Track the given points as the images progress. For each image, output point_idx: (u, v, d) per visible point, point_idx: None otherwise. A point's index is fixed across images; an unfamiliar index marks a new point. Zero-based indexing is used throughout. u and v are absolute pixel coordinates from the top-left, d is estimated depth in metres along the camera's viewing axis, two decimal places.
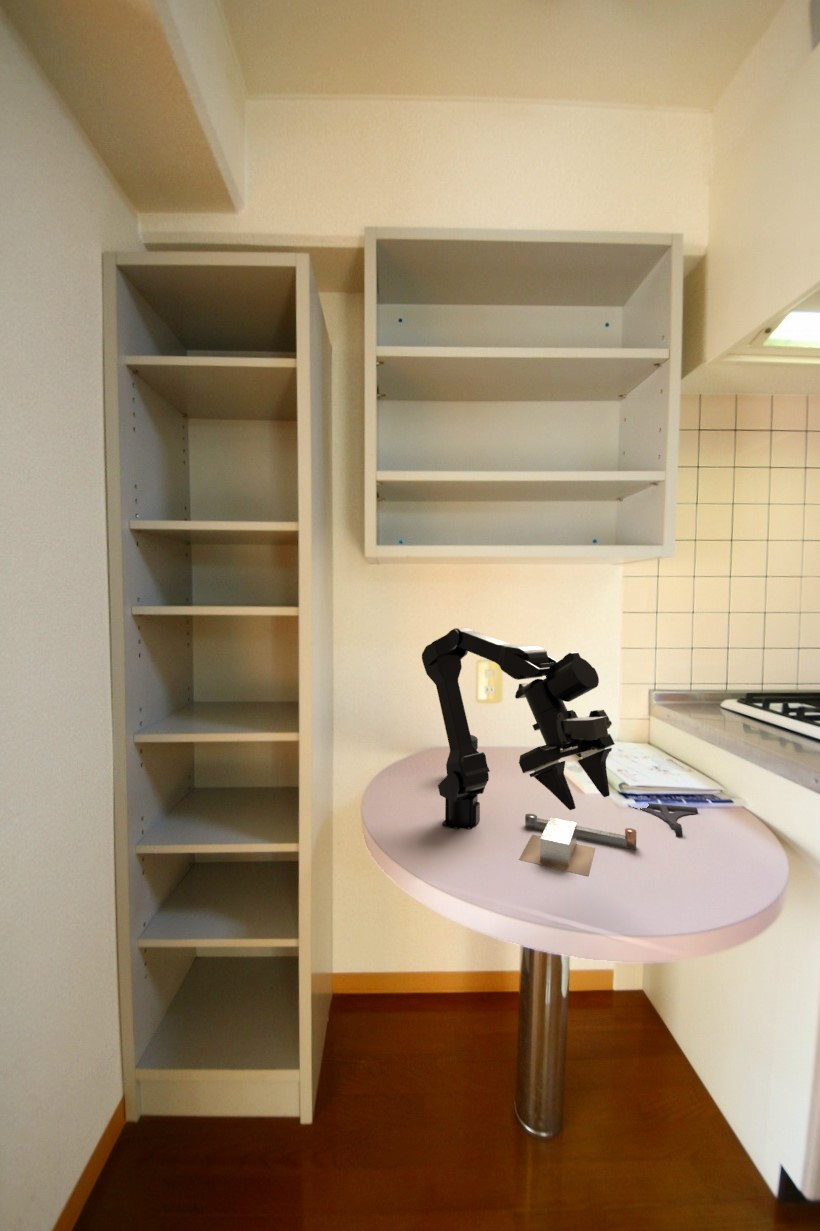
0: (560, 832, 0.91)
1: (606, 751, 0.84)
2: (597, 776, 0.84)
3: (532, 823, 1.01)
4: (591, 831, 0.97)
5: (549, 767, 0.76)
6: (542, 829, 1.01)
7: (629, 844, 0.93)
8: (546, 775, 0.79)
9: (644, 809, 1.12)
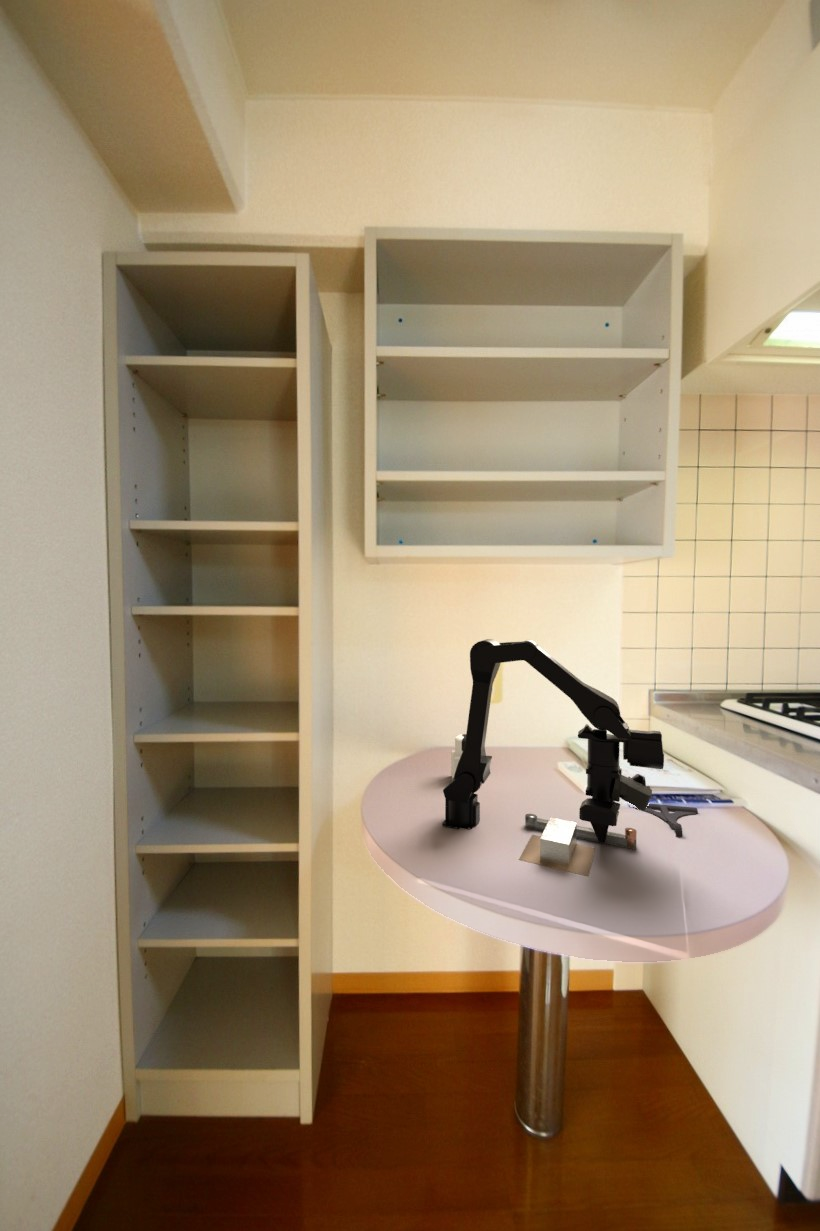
0: (560, 832, 0.91)
1: None
2: None
3: (532, 823, 1.01)
4: (591, 831, 0.97)
5: None
6: (542, 829, 1.01)
7: (629, 843, 0.93)
8: None
9: None
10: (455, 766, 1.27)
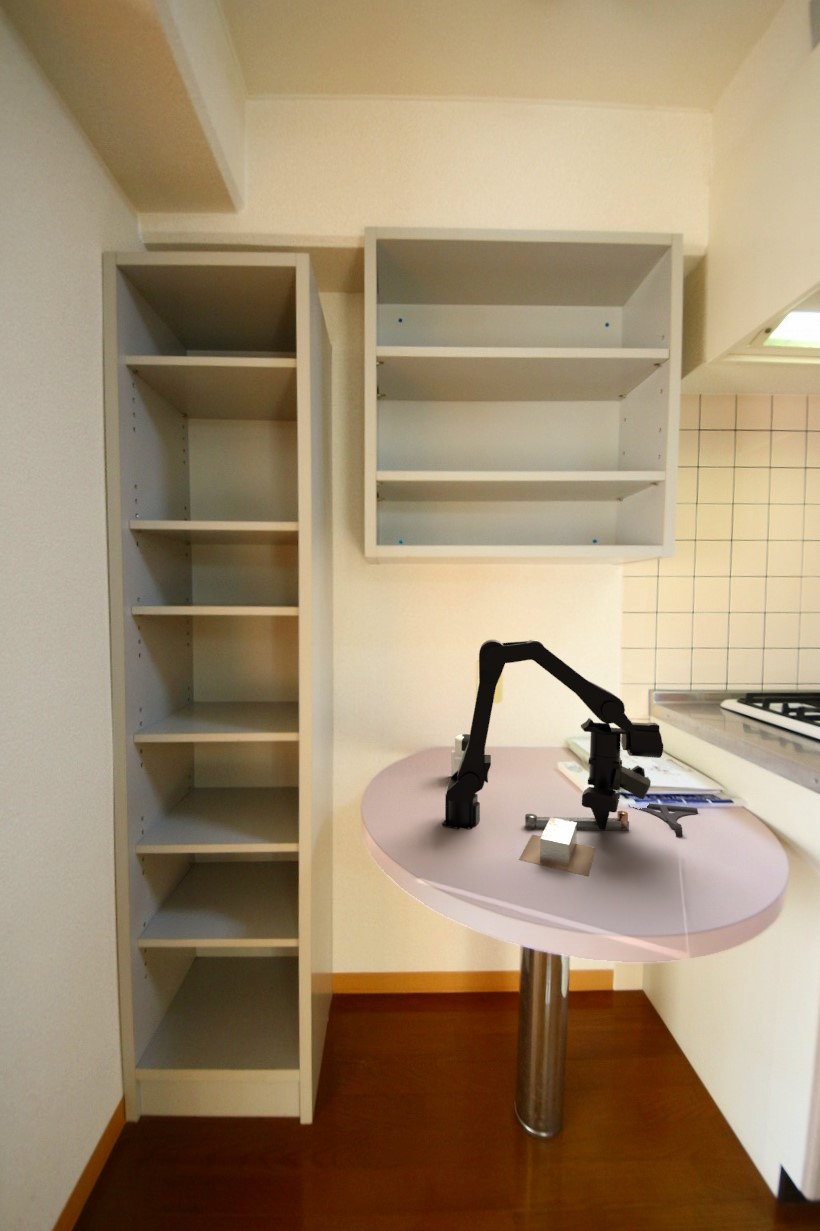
0: (560, 832, 0.91)
1: (618, 797, 1.00)
2: None
3: (534, 823, 1.01)
4: (589, 820, 1.02)
5: None
6: (544, 827, 1.02)
7: (623, 825, 1.01)
8: None
9: (644, 809, 1.12)
10: (455, 766, 1.27)
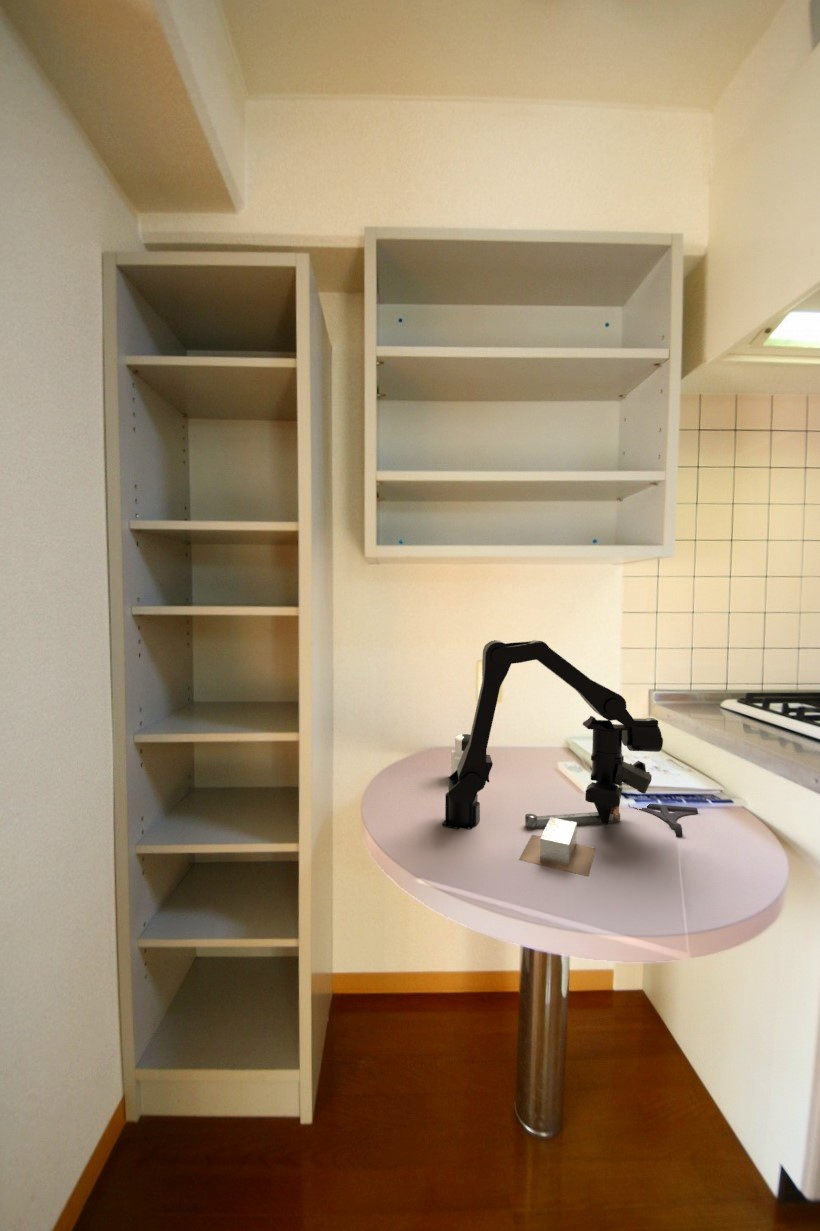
0: (560, 832, 0.91)
1: (620, 792, 1.03)
2: None
3: (535, 823, 1.02)
4: (584, 815, 1.04)
5: None
6: (544, 826, 1.02)
7: (615, 818, 1.05)
8: None
9: (644, 809, 1.12)
10: (455, 766, 1.27)
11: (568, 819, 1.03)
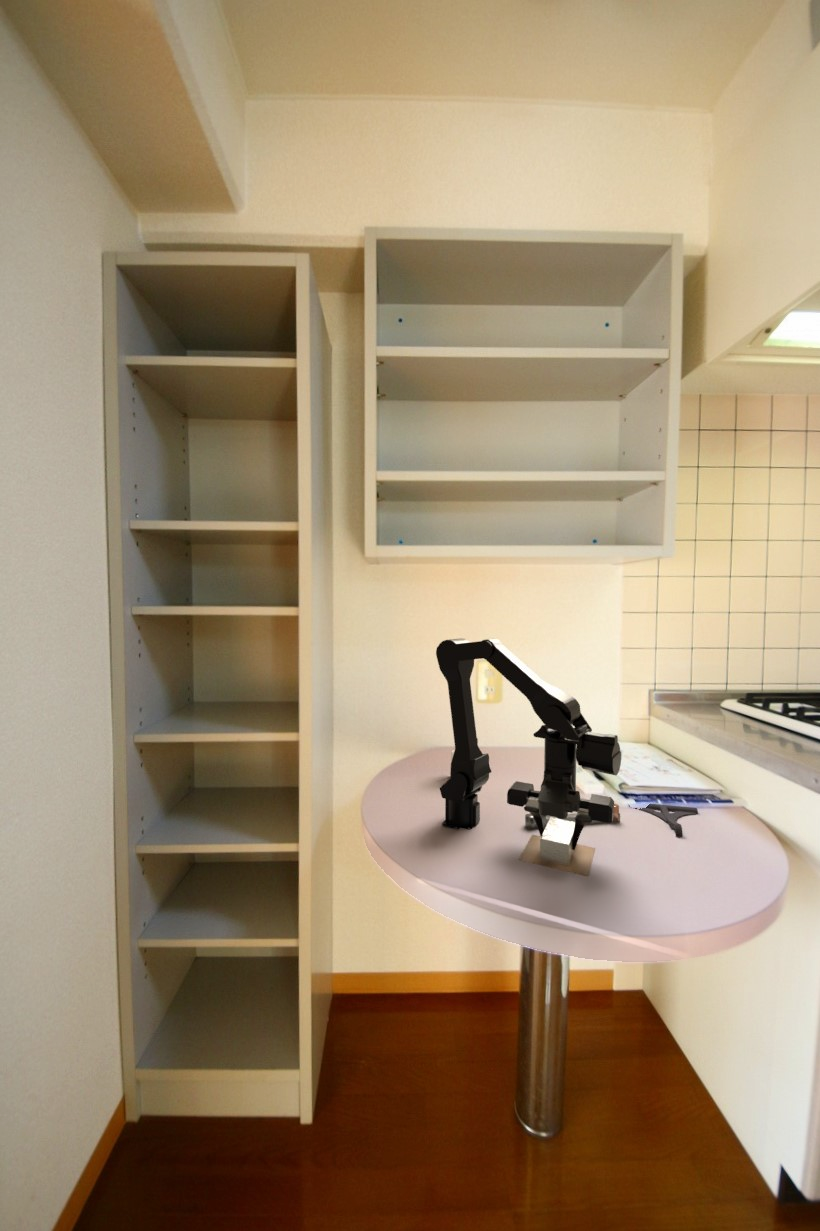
0: (560, 832, 0.91)
1: (580, 821, 0.88)
2: None
3: (535, 823, 1.02)
4: None
5: (524, 807, 0.93)
6: None
7: (615, 818, 1.05)
8: None
9: (644, 809, 1.12)
10: None
11: (568, 819, 1.03)
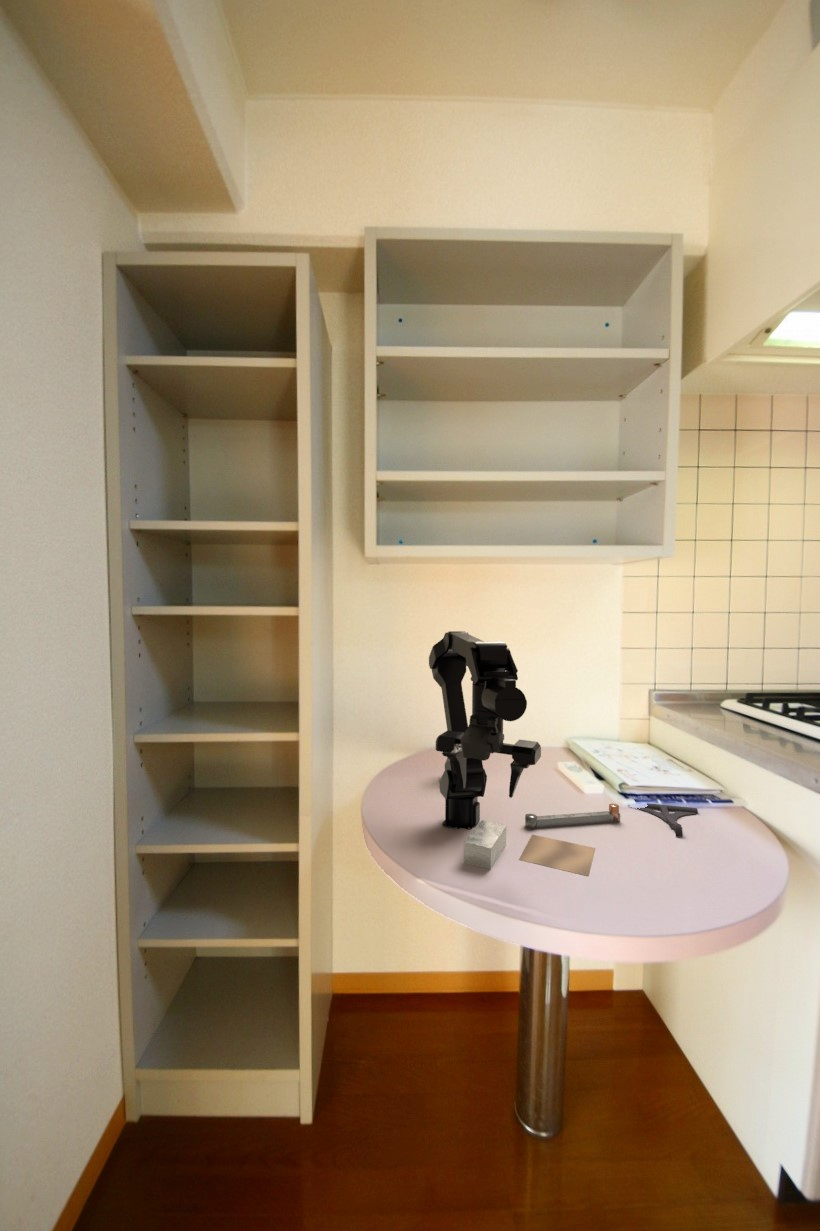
0: (487, 835, 0.90)
1: (515, 766, 0.86)
2: None
3: (535, 823, 1.02)
4: (584, 815, 1.04)
5: (443, 753, 0.93)
6: (544, 826, 1.02)
7: (615, 818, 1.05)
8: None
9: (644, 809, 1.12)
10: None
11: (568, 819, 1.03)
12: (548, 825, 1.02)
